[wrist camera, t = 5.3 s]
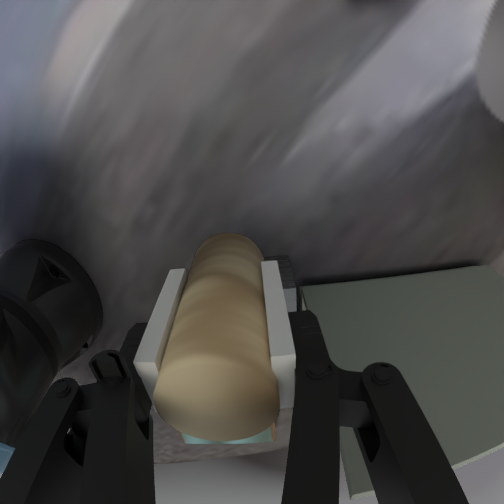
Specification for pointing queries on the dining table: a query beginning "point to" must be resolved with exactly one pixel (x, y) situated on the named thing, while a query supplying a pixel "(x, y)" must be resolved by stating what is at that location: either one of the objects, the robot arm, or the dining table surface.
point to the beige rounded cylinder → (220, 347)
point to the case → (423, 353)
